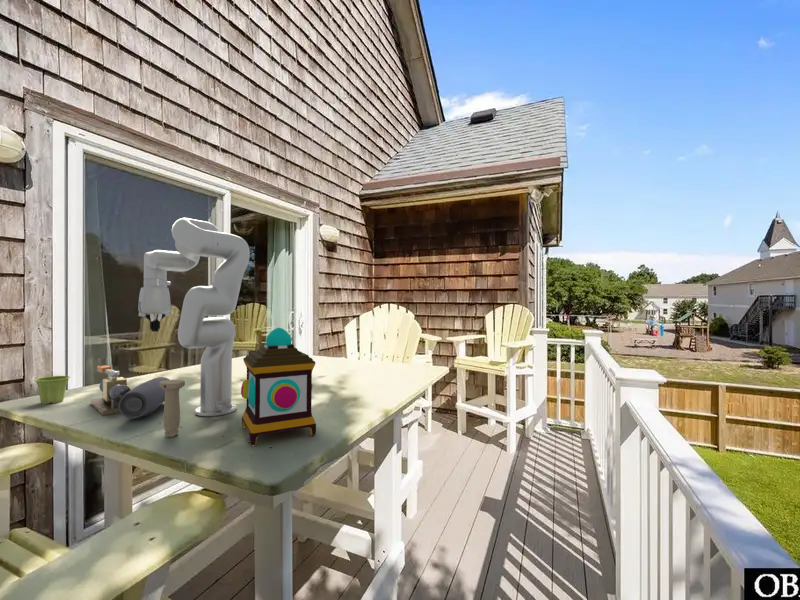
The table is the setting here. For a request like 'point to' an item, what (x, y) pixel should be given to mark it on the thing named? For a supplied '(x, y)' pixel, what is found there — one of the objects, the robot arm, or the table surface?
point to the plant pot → (52, 388)
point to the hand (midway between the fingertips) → (154, 331)
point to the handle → (171, 406)
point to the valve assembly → (110, 395)
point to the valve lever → (107, 370)
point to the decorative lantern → (277, 388)
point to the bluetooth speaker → (142, 399)
